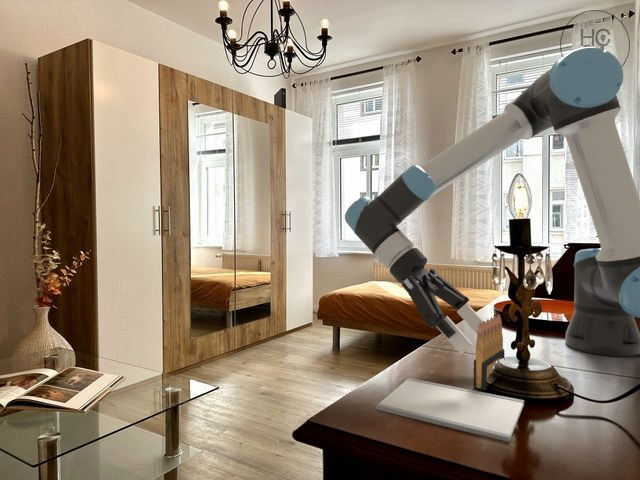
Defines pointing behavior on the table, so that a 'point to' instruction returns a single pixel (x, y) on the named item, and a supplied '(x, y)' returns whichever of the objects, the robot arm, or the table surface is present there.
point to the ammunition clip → (487, 350)
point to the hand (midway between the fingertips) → (476, 340)
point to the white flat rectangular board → (455, 408)
